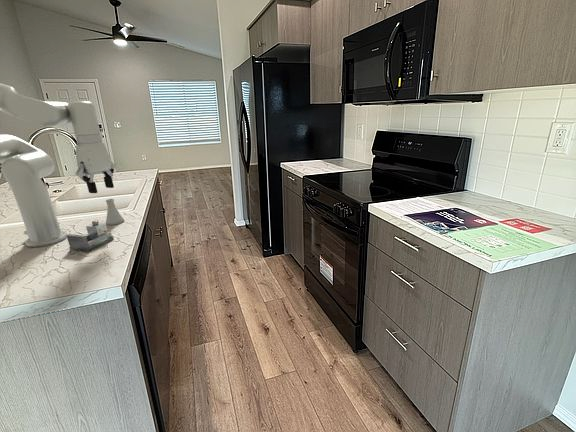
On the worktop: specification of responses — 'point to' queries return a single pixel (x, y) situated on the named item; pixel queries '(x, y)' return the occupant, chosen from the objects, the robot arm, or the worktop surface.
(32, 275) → the worktop surface
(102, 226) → the knobbed grey cube
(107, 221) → the flask
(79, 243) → the base
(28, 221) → the robot arm
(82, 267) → the worktop surface
